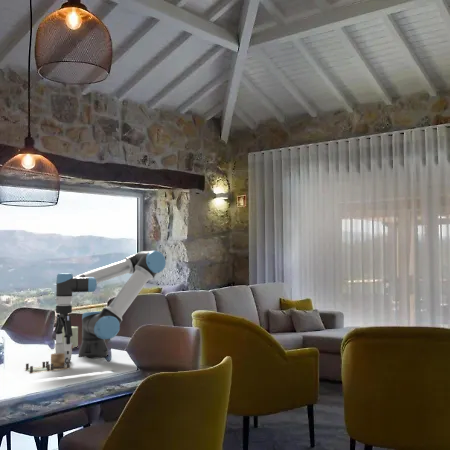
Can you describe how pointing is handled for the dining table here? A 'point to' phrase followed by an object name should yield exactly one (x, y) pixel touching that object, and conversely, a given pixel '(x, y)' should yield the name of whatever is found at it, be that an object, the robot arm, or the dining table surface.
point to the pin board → (45, 368)
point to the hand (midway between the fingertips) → (63, 349)
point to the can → (73, 338)
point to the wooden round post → (58, 360)
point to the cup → (60, 349)
